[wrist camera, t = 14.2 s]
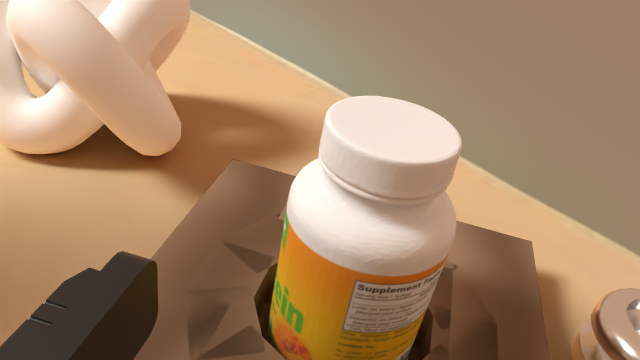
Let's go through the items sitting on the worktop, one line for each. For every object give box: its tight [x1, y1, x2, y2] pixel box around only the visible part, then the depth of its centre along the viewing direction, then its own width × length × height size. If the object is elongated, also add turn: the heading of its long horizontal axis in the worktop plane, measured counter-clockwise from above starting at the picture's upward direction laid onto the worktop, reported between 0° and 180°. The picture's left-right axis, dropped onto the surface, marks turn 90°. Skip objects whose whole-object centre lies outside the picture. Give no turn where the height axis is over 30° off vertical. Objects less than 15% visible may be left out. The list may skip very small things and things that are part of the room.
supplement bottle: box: [267, 96, 462, 360], centre depth 18 cm, size 5×5×10 cm
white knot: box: [0, 0, 190, 156], centre depth 27 cm, size 11×12×9 cm
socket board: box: [133, 159, 549, 360], centre depth 20 cm, size 15×15×2 cm
